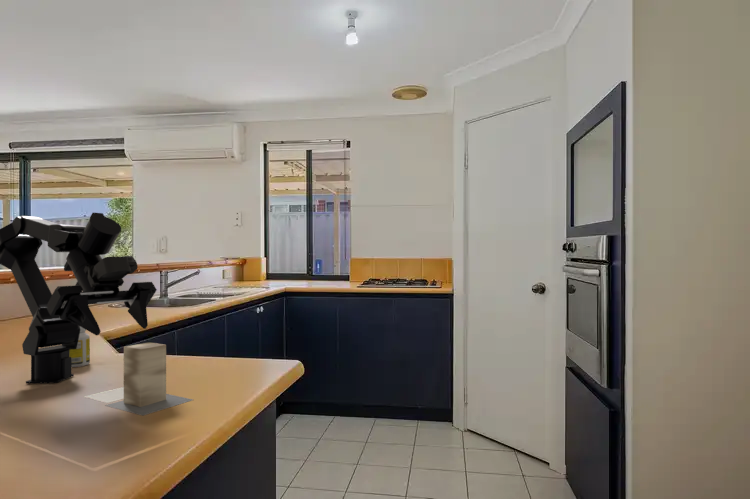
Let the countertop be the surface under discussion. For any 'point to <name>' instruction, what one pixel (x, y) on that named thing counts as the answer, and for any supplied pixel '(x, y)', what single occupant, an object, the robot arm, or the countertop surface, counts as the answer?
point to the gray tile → (150, 405)
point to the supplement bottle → (81, 350)
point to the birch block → (144, 374)
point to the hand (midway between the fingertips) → (123, 330)
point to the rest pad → (108, 395)
